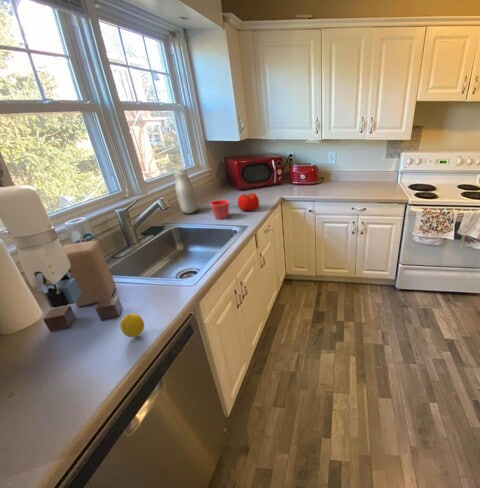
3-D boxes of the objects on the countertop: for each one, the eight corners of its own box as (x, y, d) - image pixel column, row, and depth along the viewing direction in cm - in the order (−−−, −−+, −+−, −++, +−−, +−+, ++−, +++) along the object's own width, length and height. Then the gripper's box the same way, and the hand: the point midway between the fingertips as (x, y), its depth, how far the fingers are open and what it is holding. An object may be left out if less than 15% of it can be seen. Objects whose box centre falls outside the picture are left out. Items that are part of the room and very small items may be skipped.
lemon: (133, 329, 86) (125, 308, 82) (151, 329, 86) (143, 308, 82) (121, 342, 81) (112, 321, 77) (140, 343, 81) (131, 321, 77)
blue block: (50, 307, 72) (42, 292, 70) (59, 297, 77) (51, 281, 74) (74, 303, 74) (66, 287, 72) (81, 293, 78) (74, 278, 76)
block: (76, 308, 95) (50, 256, 87) (85, 292, 103) (62, 244, 95) (111, 300, 99) (90, 250, 90) (117, 286, 107) (98, 238, 98)
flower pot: (225, 213, 182) (223, 198, 178) (234, 217, 175) (231, 202, 171) (210, 217, 176) (207, 202, 171) (218, 221, 169) (215, 206, 164)
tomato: (257, 205, 196) (255, 191, 191) (261, 211, 185) (259, 195, 180) (237, 208, 191) (235, 193, 186) (240, 214, 180) (238, 198, 176)
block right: (101, 321, 89) (95, 308, 87) (105, 311, 94) (100, 299, 91) (119, 317, 91) (114, 304, 89) (122, 308, 95) (118, 296, 93)
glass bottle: (189, 209, 189) (179, 167, 177) (201, 211, 186) (192, 168, 174) (178, 214, 181) (167, 170, 169) (190, 216, 178) (180, 171, 165)
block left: (50, 332, 85) (42, 319, 83) (57, 321, 89) (50, 309, 87) (70, 327, 87) (63, 314, 85) (76, 317, 91) (70, 305, 89)
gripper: (34, 227, 73) (63, 285, 81) (-8, 256, 59) (31, 323, 67) (69, 223, 76) (93, 280, 83) (37, 250, 61) (70, 316, 69)
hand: (66, 299), depth 75 cm, fingers closed on blue block, 5 cm apart
